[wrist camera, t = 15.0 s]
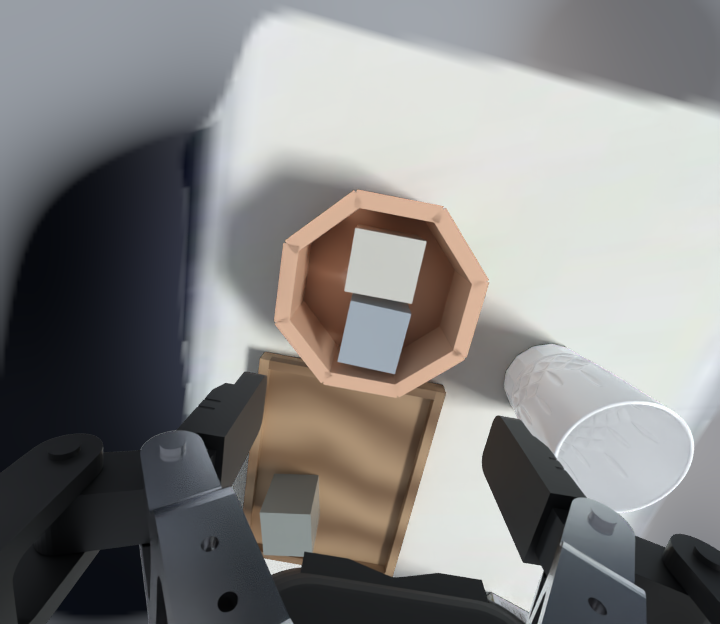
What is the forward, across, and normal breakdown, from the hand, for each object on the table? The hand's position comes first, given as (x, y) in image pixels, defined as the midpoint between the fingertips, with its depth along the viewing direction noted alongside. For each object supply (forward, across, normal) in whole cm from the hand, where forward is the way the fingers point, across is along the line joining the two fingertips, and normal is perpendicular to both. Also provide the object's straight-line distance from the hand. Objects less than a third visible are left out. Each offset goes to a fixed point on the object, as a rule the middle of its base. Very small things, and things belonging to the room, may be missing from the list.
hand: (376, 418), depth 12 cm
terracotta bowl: (+17, 0, -2) cm, 17 cm away
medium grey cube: (+17, +4, +20) cm, 26 cm away
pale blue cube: (+16, 0, +1) cm, 16 cm away
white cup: (+17, -16, +4) cm, 24 cm away
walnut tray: (+17, +1, +17) cm, 24 cm away
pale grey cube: (+16, 0, -4) cm, 17 cm away
